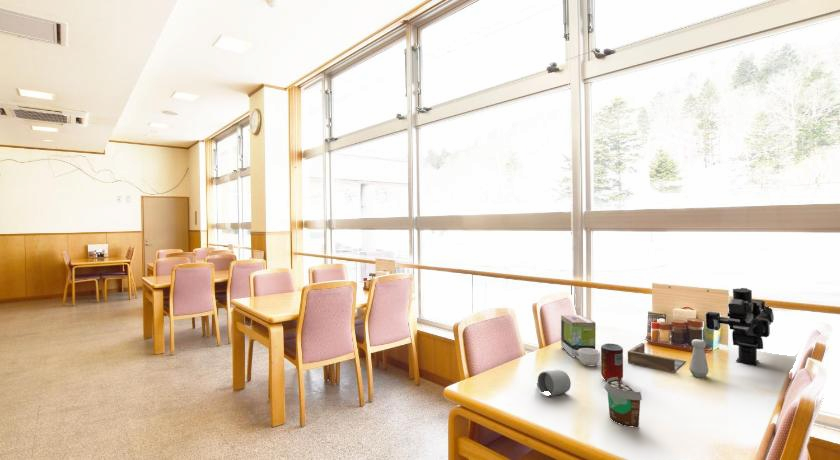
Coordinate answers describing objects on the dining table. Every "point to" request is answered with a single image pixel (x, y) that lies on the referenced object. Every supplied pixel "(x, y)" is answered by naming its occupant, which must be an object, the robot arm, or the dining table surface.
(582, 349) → the teacup
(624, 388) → the food container
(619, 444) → the dining table surface
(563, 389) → the ceramic mug
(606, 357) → the soda can
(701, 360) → the salt shaker
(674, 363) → the corner tray
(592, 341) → the tea box
